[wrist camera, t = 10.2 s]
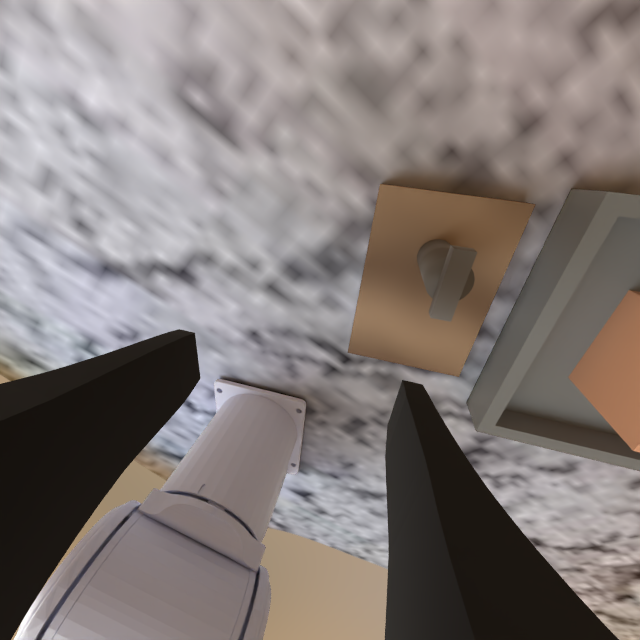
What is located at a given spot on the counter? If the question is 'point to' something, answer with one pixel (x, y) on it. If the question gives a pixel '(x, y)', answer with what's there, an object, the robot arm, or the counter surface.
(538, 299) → the tray
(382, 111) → the counter surface
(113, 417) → the robot arm
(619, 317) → the collar
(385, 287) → the stake board
